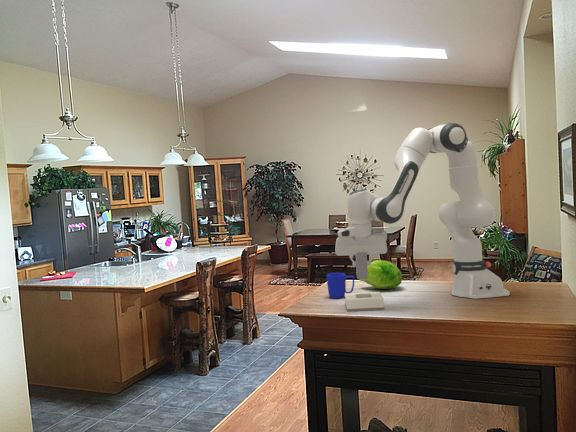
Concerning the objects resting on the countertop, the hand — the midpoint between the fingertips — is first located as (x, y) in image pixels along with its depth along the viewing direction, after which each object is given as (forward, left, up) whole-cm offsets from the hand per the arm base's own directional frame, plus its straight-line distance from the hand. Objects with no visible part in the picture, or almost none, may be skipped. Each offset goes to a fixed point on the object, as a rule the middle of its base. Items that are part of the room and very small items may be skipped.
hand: (361, 266), depth 199 cm
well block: (0, 0, -16) cm, 16 cm away
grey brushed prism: (0, 0, -5) cm, 5 cm away
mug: (+8, -20, -17) cm, 27 cm away
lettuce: (-11, -33, -17) cm, 39 cm away
